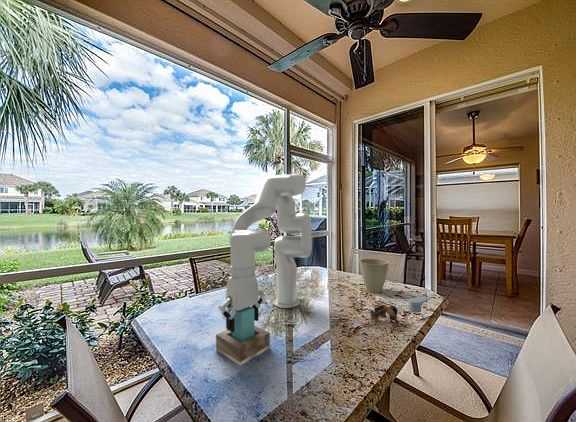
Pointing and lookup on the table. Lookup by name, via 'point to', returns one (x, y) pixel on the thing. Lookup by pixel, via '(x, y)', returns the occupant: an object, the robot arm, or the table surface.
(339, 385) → the table surface
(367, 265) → the plant pot
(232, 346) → the walnut well
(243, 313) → the teal block
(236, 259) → the robot arm
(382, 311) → the brown toy animal
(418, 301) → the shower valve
